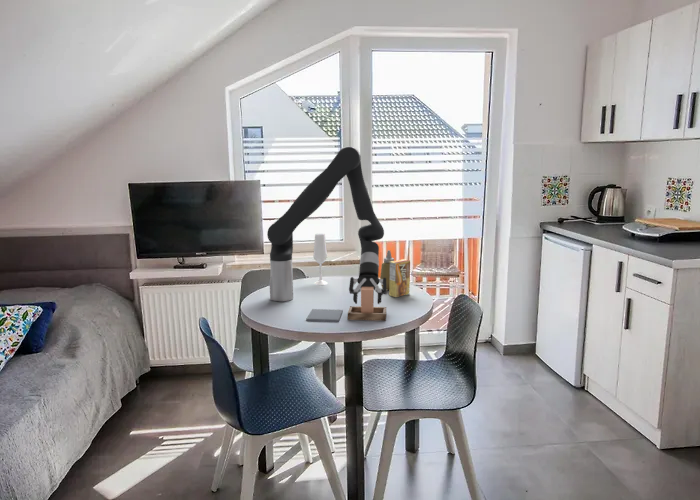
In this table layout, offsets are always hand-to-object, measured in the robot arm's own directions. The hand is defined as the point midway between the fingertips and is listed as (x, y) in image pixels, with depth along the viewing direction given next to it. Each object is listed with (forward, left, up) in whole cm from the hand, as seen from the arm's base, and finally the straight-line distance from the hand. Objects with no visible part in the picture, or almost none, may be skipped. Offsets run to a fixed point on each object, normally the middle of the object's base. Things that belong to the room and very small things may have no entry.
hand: (367, 302), depth 175 cm
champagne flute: (-26, +50, -6) cm, 57 cm away
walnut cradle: (0, +1, -6) cm, 6 cm away
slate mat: (-16, 0, -6) cm, 17 cm away
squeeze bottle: (+7, +42, -6) cm, 43 cm away
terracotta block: (0, +1, -6) cm, 6 cm away
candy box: (+12, +32, -6) cm, 35 cm away
